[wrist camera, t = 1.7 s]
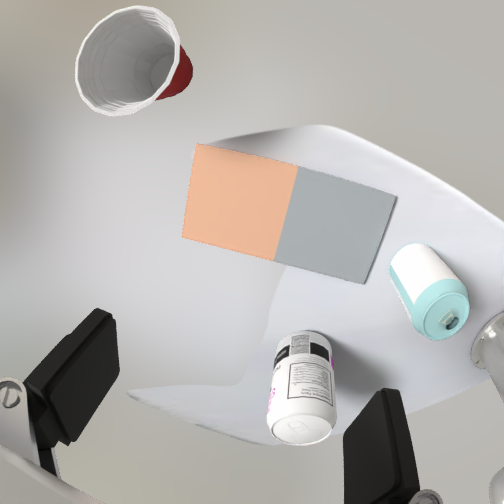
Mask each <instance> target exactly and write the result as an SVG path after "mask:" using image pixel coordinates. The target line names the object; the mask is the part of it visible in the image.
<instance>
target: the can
mask: <svg viewBox="0 0 504 504" xmlns="http://www.w3.org/2000/svg"><path fill="white" fill-rule="evenodd" d="M389 276H390V280H391V282H392V284H393V286H394V288H395V290H396V292H397V294H398V296H399V298H400V300H401V302H402V304H403V306H404V308H405V310H406V312H407V314H408V316H409V318H410V320H411V322H412V325H413V327H414V328H415V329H416V330H417V331H418V332H419V333H420V334H422V335H425V336H426V337H427V338H429V339H431V340H443V339H446V338H449V337H451V336H452V335H454V334H455V333H457V332H458V331H459V330H460V329H461V328H462V326H463V325H464V324H465V322H466V320H467V318H468V315H469V311H470V304H469V301H468V300H469V299H468V292H467V289H466V287H465V286H464V284H463V283H462V282H461V281H460V280H459V279H458V277H457V276H456V275H455V274H454V273H453V272H452V271H451V270H450V268H449V267H448V266H447V265H446V264H445V263H444V262H443V261H442V260H441V259H440V257H439V256H438V255H437V254H436V253H435V252H434V251H433V250H432V249H431V248H430V247H429V246H427V245H425V244H420V243H415V244H410V245H408V246H406V247H404V248H402V249H401V250H400V251H399V252H398V253H397V254H396V255H395V257H394V258H393V260H392V262H391V265H390V269H389Z"/></svg>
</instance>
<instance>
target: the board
mask: <svg viewBox="0 0 504 504" xmlns="http://www.w3.org/2000/svg"><path fill="white" fill-rule="evenodd" d="M395 198H396V196H395V195H392V194H389V193H386V192H383V191H380V190H377V189H374V188H371V187H368V186H365V185H362V184H359V183H356V182H353V181H349V180H346V179H343V178H339V177H336V176H333V175H329V174H326V173H322V172H319V171H315V170H312V169H308V168H304V167H301V166H297V165H293V164H289V163H285V162H281V161H277V160H273V159H269V158H265V157H261V156H256V155H252V154H247V153H243V152H238V151H234V150H229V149H224V148H219V147H214V146H209V145H203V144H196V149H195V154H194V160H193V166H192V172H191V178H190V184H189V191H188V196H187V203H186V210H185V217H184V224H183V232H182V237H183V238H187V239H190V240H194V241H198V242H201V243H205V244H209V245H213V246H217V247H220V248H224V249H229V250H232V251H236V252H240V253H244V254H248V255H251V256H255V257H259V258H263V259H267V260H270V261H274V262H278V263H282V264H286V265H289V266H293V267H297V268H301V269H305V270H309V271H313V272H316V273H320V274H324V275H328V276H332V277H336V278H340V279H344V280H347V281H351V282H355V283H359V284H363V283H364V281H365V279H366V276H367V274H368V271H369V269H370V267H371V264H372V262H373V259H374V256H375V254H376V251H377V249H378V246H379V243H380V241H381V238H382V235H383V233H384V230H385V227H386V224H387V222H388V219H389V216H390V213H391V210H392V207H393V204H394V201H395Z"/></svg>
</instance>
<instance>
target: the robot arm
mask: <svg viewBox="0 0 504 504" xmlns="http://www.w3.org/2000/svg"><path fill="white" fill-rule="evenodd" d="M471 359H472V361H473V363H474V365H475V366H476V367H478V368H480V369H487V371H488V373H489V375H490V376H491V378H492V380H493V382H494V384H495V386H496V388H497V390H498V392H499V394H500V396H501V398H502V400H503V402H504V312H502V313H500V314H498V315H497V316H495V317H494V318H493V319H491V320H490V321H489V322H488V323H487V324H486V325H485V326H484V328H483V329H482V330H481V331H480V333H479V334H478V336H477V337H476V339H475V341H474V343H473V346H472V350H471ZM119 371H120V367H119V357H118V346H117V332H116V321H115V319H113V317H112V314H111V313H108V312H106V311H104V310H101V309H99V308H96V309H94V310H93V311H92V312H91V313H90V314H89V315H88V316H87V317H86V318H85V319H84V320H83V321H82V322H81V323H80V324H79V325H78V326H77V328H75V330H74V331H73V332H72V333H71V334H69V335H66V336H65V337H64V338H63V339H62V340H61V341H60V342H59V343H58V344H57V346H55V348H54V349H53V350H52V351H51V352H50V353H49V354H48V355H47V356H46V357H45V358H44V359H43V360H42V361H41V363H40V364H39V365H38V366H37V367H36V368H35V369H34V370H33V371H32V373H31V374H30V375H29V376H28V377H27V378H26V379H25V381H24V382H23V383H22V382H20V381H19V380H18V379H16V378H12V377H4V378H1V379H0V504H105V503H103V502H101V501H99V500H97V499H95V498H93V497H91V496H89V495H87V494H86V493H84V492H82V491H80V490H78V489H76V488H74V487H73V486H71V485H69V484H67V483H66V482H64V481H62V480H61V476H60V472H59V468H58V464H57V459H56V455H55V450H54V447H55V445H56V444H57V442H58V441H60V442H62V443H64V444H65V445H67V446H69V444H70V442H71V441H72V442H75V441H76V440H77V439H78V437H79V436H80V434H81V433H82V431H83V430H84V428H85V426H86V425H87V423H88V422H89V420H90V419H91V417H92V415H93V414H94V412H95V411H96V409H97V408H98V406H99V405H100V403H101V402H102V400H103V398H104V397H105V395H106V394H107V392H108V391H109V389H110V388H111V386H112V385H113V383H114V382H115V380H116V379H117V377H118V375H119ZM343 454H344V504H443V501H442V499H441V497H440V495H439V494H438V493H436V492H435V491H433V490H428V489H424V490H421V491H420V485H419V478H418V473H417V467H416V461H415V456H414V451H413V446H412V441H411V436H410V432H409V428H408V424H407V419H406V415H405V411H404V407H403V403H402V399H401V395H400V392H399V390H396V389H388V388H383V389H381V390H380V391H377V392H376V393H375V394H374V396H373V397H372V398H371V400H370V401H369V402H368V404H367V405H366V406H365V407H364V409H363V410H362V411H361V413H360V414H359V415H358V416H357V417H356V419H355V420H354V421H353V422H352V424H351V425H350V426H349V427H348V428H347V430H346V431H345V433H344V436H343ZM489 498H490V503H491V504H504V467H503V468H502V469H501V470H499V471H498V472H497V473H496V474H495V475H494V477H493V478H492V480H491V482H490V486H489Z"/></svg>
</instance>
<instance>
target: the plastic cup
mask: <svg viewBox="0 0 504 504" xmlns="http://www.w3.org/2000/svg"><path fill="white" fill-rule="evenodd" d="M192 75H193V66H192V64H191V61H190V59H189V57H188V56H187V55H186V53H185V51H184V49H183V48H182V47H181V45H180V37H179V35H178V33H177V30H176V28H175V26H174V23H173V21H172V20H171V19H170V18H169V17H167V16H166V15H165V14H164V13H162V12H161V11H160V10H158V9H157V8H152V7H145V6H139V5H136V6H131V7H127V8H123V9H119V10H116V11H114V12H113V13H111V14H110V15H108V16H107V17H105V18H104V19H103V20H101V21H99V22H98V23H97V24H96V25H95V26H94V28H93V29H92V30H91V31H90V33H89V34H88V35H87V36H86V38H85V39H84V40H83V43H82V45H81V48H80V50H79V53H78V56H77V58H76V65H75V82H76V85H77V88H78V91H79V94H80V96H81V98H82V99H83V101H85V102H86V104H87V105H88V106H90V108H91V109H92V110H93V111H96V112H99V113H102V114H105V115H108V116H111V117H113V116H120V115H128V114H133V113H135V112H136V111H138V110H140V109H142V108H143V107H145V106H147V105H149V104H151V103H153V102H154V101H156V100H160V99H164V98H166V97H171V96H174V95H176V94H178V93H180V92H182V91H183V90H184V89H185V88H186V87H187V86H188V85H189V83H190V81H191V79H192V77H193V76H192Z"/></svg>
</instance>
